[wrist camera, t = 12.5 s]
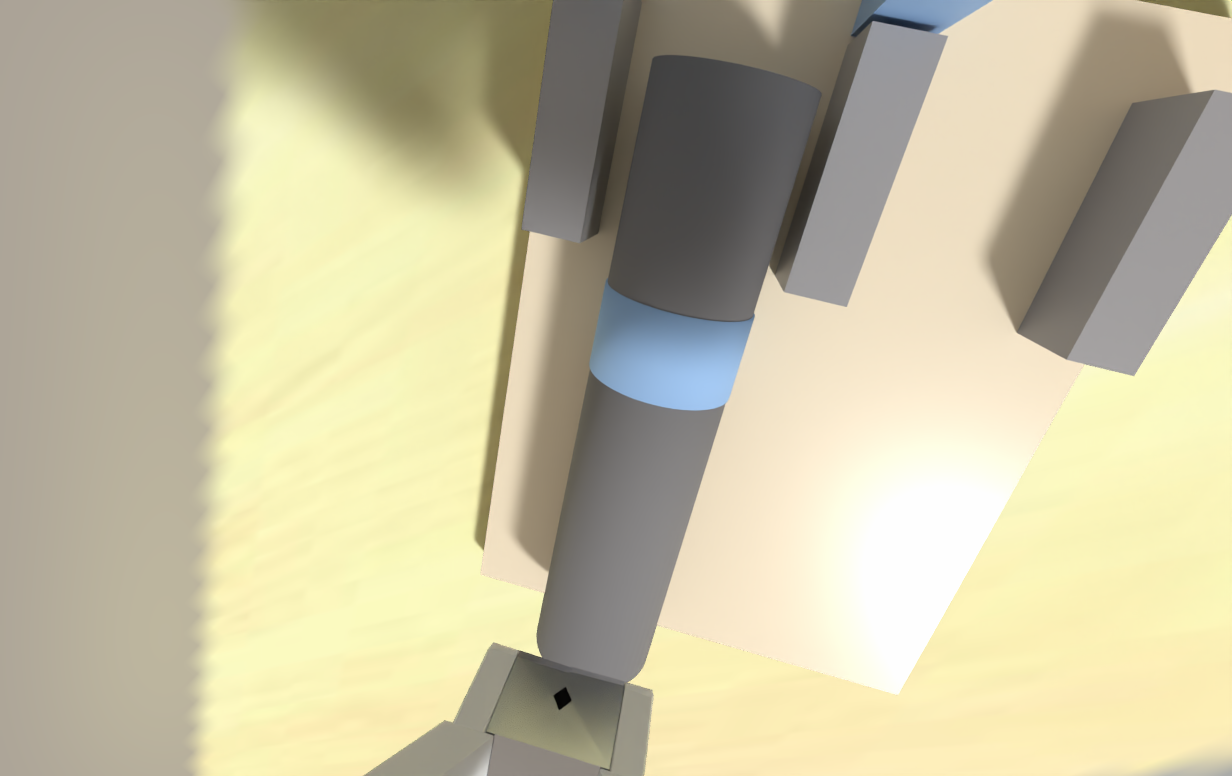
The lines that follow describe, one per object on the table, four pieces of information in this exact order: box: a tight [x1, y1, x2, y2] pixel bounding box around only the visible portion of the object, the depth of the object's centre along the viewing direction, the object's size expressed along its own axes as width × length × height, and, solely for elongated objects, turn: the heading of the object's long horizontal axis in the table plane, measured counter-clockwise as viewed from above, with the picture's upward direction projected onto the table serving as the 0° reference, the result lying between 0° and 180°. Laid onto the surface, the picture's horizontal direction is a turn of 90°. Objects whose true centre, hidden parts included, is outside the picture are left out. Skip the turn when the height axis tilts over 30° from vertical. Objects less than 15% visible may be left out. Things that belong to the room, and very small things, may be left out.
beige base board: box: [481, 0, 1232, 695], centre depth 17 cm, size 22×17×4 cm
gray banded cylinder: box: [537, 55, 822, 684], centre depth 17 cm, size 18×4×4 cm, turn 168°
